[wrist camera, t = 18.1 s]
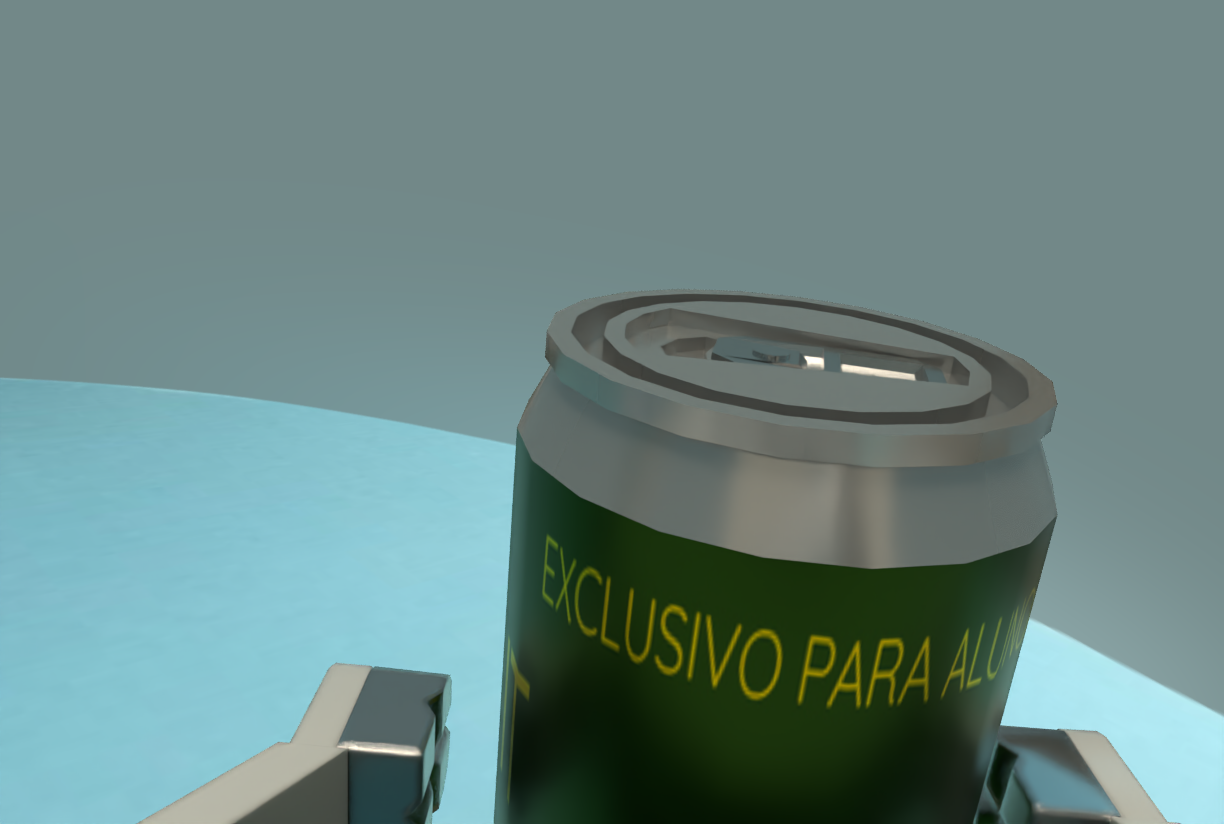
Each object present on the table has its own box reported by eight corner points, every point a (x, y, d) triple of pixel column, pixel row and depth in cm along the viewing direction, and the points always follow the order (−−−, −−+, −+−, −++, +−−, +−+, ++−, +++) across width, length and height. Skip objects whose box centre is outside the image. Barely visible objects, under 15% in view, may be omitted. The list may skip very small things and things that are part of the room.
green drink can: (851, 1032, 15) (1023, 322, 11) (864, 1478, 10) (1174, 496, 6) (536, 951, 16) (592, 267, 12) (409, 1325, 11) (435, 381, 7)
